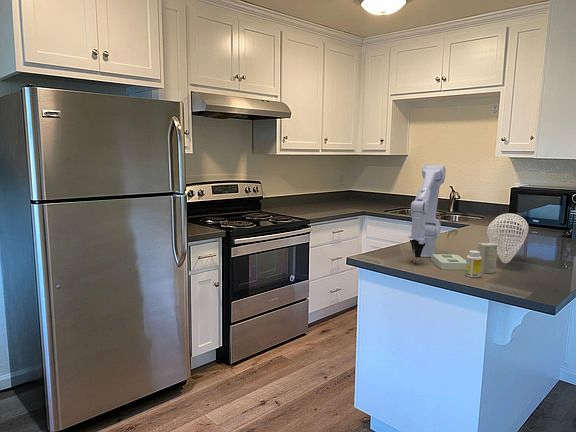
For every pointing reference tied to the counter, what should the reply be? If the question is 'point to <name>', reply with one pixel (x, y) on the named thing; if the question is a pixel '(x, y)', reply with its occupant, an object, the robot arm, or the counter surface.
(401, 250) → the counter surface
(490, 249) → the skincare box
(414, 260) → the dowel
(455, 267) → the board
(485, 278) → the counter surface
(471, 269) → the supplement bottle
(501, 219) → the heart
